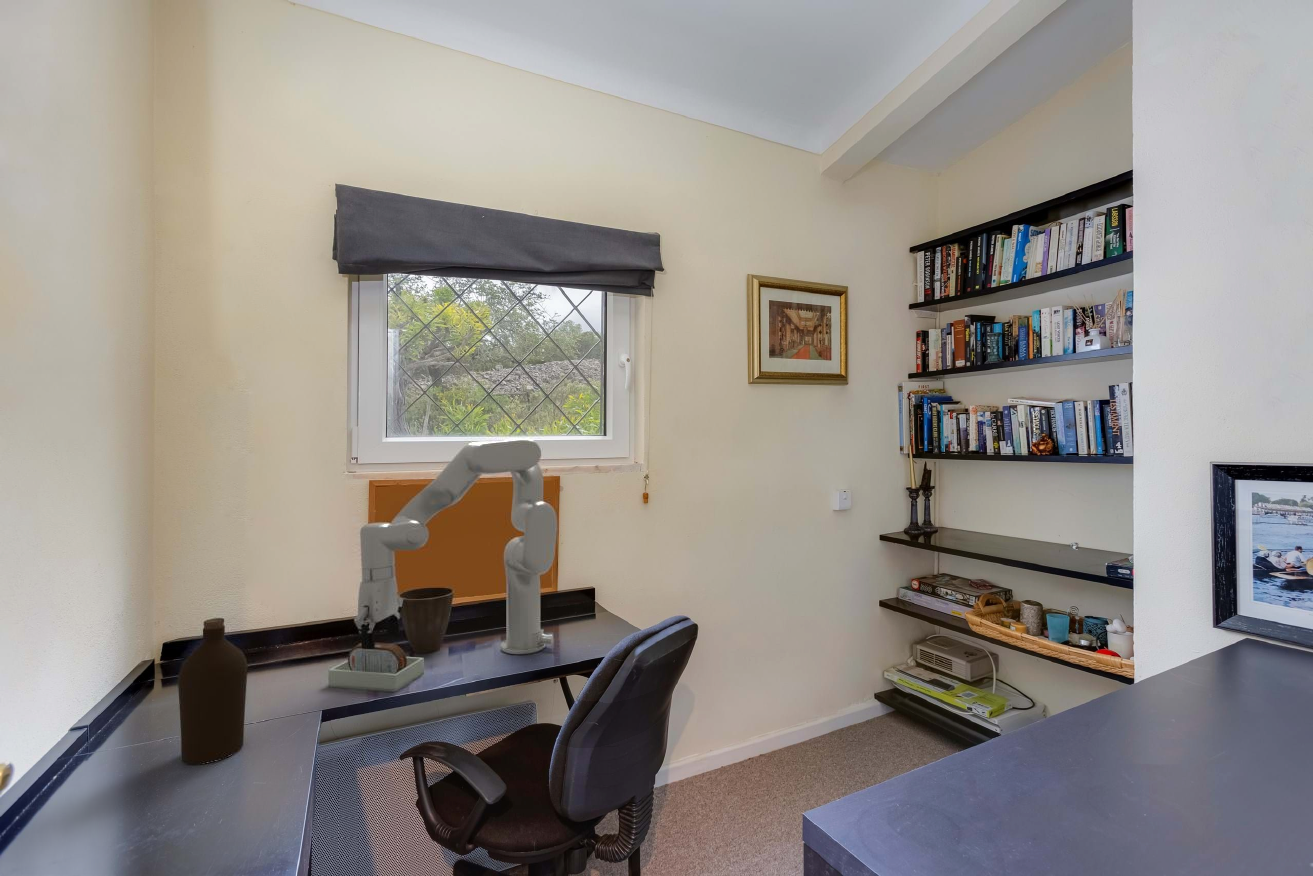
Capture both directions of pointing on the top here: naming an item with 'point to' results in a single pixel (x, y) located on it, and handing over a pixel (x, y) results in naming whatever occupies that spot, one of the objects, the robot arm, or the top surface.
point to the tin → (377, 659)
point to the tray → (375, 677)
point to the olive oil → (212, 697)
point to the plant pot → (426, 616)
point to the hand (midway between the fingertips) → (381, 641)
